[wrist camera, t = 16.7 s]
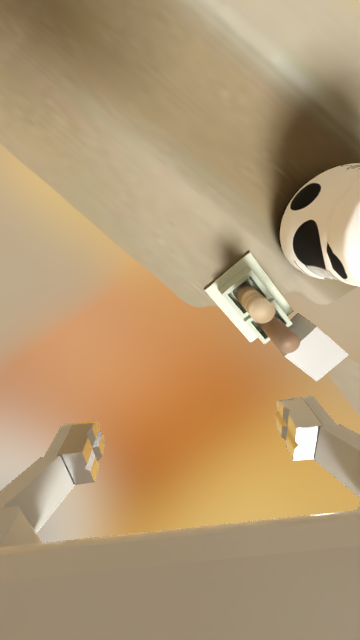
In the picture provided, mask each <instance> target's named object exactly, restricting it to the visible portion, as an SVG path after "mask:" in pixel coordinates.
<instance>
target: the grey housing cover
mask: <svg viewBox="0 0 360 640" xmlns="http://www.w3.org/2000/svg"><path fill="white" fill-rule="evenodd" d="M290 321H291V322H292V323H293V324H292V325H291V326H289V327H288V328H289V329H290V330H292V331H293V332H294V333H295V334H296V335H297V336H298V337H299V338H300V346H299V347H298V349H297V350H296V351H294V352H292V353H288V354H286V353H282V352H281V351H280V352H281V353H282V354H283V355H284V356H285V357H287V359H289V360H290V361H291V362H292V363H294V364H295V365H296V366H298V367H299V368H300V369H301V370H303V371H304V372H305V373H307V374H308V375H309V376H310V377H312V378H313V379H314V380H316V381H318V380H319V379H320V378H321V377H322V376H324V375H325V374H326V373H327V372H329V371H330V370H331V369H332V368H333V367H335V366H336V365H337V364H338V363H340V362H341V361H342V360H343V359H344V358H346V357H347V356H348V354H347V353H346V352H345V351H344V350H343V349H342V348H340V347H339V346H338V345H337V344H336V343H335V342H333V341H332V340H331V339H330V338H329V337H328V336H327V335H326V334H324V333H323V332H322V331H321V330H320V329H319V328H318V327H316V326H315V325H314V324H312V323H311V322H310V321H308V320H307V319H305V318H304V317H302V316H301V315H300V314H299V313H298V314H296V316H294V317H293V318H292V319H291V320H290ZM276 347H277V346H276Z"/></svg>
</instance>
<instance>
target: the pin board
mask: <svg viewBox="0 0 360 640" xmlns="http://www.w3.org/2000/svg"><path fill="white" fill-rule="evenodd" d="M243 282H247V283H248V284H249V285H250V286H252V287H253V288H254V289H255V290H256V291H258V292H259V293H260V294H261V295H262V296H264V297H265V298H266V299H267V300H268V301H269V302H271V303H272V304H273V305H274V307H275V315H274V317H273V318H272V320H270V321H269V322H267V323H263V324H261V323H257V322H255V321H254V320H253V318H252V317H251V316H250V315H249V313H248V312H247V311H246V310H245V308H244V307H243V306H242V305H241V304H240V302H239V301H238V300H237V299H236V297H235V296H234V295H233V290H234V289H235V288H237V287H238V286H239V285H240V284H242V283H243ZM205 291H206V292H207V294H208V295H209V296H210V297H211V298H212V299H213V300H214V302H215V303H216V304H217V305H218V306H219V307H220V308H221V309H222V311H223V312H224V313H225V314H226V315H227V316H228V317H229V319H230V320H231V321H232V322H233V323H234V324H235V325H236V327H238V329H239V330H240V331H241V332H242V333H243V335H244V336H245V337H246V338H247V339H248V340H249V341H250V342H252V341H254V340H255V339H256V338H259V339H260V340H261V341H262V342H263V343H264V344H265V343H267V342H268V341H270V340H271V341H272V342H273V343H274V344H275V345H276V346H277V348H278V349H279V350H280V351H281V352H282V353H286V354H288V353H292V352H294V351H296V350H297V349H298V347H299V346H300V338H299V337H298V336H297V335H296V334H295V333H294V332H293V331H292V330H290V329H289V328H288V327H289V326H291V325H292V324H293V323H292V322H291V321H290V320H289V318H288V317H287V316H288V315H289V314H290V313H292V312H293V310H292V308H291V307H290V306H289V304H288V303H287V302H286V300H285V299H284V298H283V296H282V295H281V293H280V292H279V291H278V289H277V288H276V287H275V285H274V284H273V283H272V281H271V280H270V279H269V277H268V276H267V275H266V273H265V272H264V271H263V269H262V268H261V267H260V265H259V264H258V262H257V261H256V260H255V258H254V257H253V256H252V254H251V253H250V252H249V253H247V254H246V255H245V256H244V257H243V258H242V259H240V260H239V261H238V262H237V263H236V264H234V265H233V266H232V267H231V268H230V269H229V270H227V271H226V272H225V273H224V274H223V275H221V276H220V277H219V278H218V279H217V280H216V281H214V282H213V283H212V284H211V285H210V286H208V287H207V288H206V289H205Z"/></svg>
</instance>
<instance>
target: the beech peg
mask: <svg viewBox="0 0 360 640" xmlns="http://www.w3.org/2000/svg"><path fill="white" fill-rule="evenodd" d="M233 295H234V296H235V297H236V299H237V300H238V301H239V302H240V304H241V305H242V306H243V307H244V308H245V310H246V311H247V312H248V313H249V315H250V316H251V317H252V318H253V320H254V321H255V322H257V323H261V324H263V323H267V322H269V321H270V320H272V318H273V317H274V315H275V307H274V305H273V304H272V303H271V302H269V301H268V300H267V299H266V298H265V297H264V296H262V295H261V294H260V293H259V292H258V291H256V290H255V289H254V288H253V287H252V286H250V285H249V284H248V283H247V282H243V283H242V284H240V285H239V286H238V287H237V288H235V289H234V290H233Z"/></svg>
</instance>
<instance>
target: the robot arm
mask: <svg viewBox="0 0 360 640" xmlns="http://www.w3.org/2000/svg"><path fill="white" fill-rule="evenodd" d="M276 407H277V409H278V413H277V414H276V425H277V428H278V431H279V433H280V435H281V437H282V438H284V439H285V440H286V447H287V449H288V451H289V453H290V455H291V457H292V459H293V460H294V461H295V460H308V459H314V460H315V461H316V462H317V463H318V464H320V465H321V466H322V467H323V468H324V469H326V470H327V471H328V472H329V473H330V474H332V475H333V476H334V477H335V478H336V479H338V480H339V481H340V482H341V483H342V484H344V485H345V486H346V487H347V488H349V489H350V490H351V491H352V492H353V493H355V494H356V495H357V496H358V497H359V498H360V435H359V434H357V433H356V432H354V431H352V430H350V429H348V428H346V427H344V426H342V425H337V424H336V423H335V422H334V421H333V419H332V418H331V417H330V416H329V415H328V413H327V412H326V411H325V410H324V409H323V407H322V406H321V405H320V404H319V403H318V401H317V400H316V399H315V398H314V397H313V396H307V397H300V398H291V399H283V400H278V401H277V404H276ZM99 428H100V425H99V423H98V421H87V422H77V423H76V422H75V423H66V424H63V425H62V426H61V427H60V429H59V431H58V433H57V434H56V436H55V438H54V440H53V442H52V443H51V445H50V447H49V449H48V451H47V452H46V454H45V456H44V457H40V458H39V459H38V460H37V461H36V462H34V463H33V464H32V465H31V466H30V467H29V468H27V469H26V470H25V471H24V472H22V473H21V474H20V475H19V476H18V477H17V478H15V479H14V480H13V481H12V482H11V483H10V484H8V485H7V486H6V487H5V488H3V489H2V490H1V491H0V640H360V503H359V507H358V510H354V511H345V512H335V513H325V514H316V515H307V516H297V517H287V518H277V519H269V520H258V521H248V522H239V523H229V524H219V525H211V526H201V527H191V528H181V529H172V530H162V531H153V532H143V533H133V534H124V535H114V536H105V537H95V538H85V539H75V540H66V541H56V542H47V543H42V542H41V540H40V538H39V537H38V535H37V534H36V533H37V532H38V531H39V530H40V528H41V527H42V526H43V525H44V523H45V522H46V521H47V520H48V518H49V517H50V516H51V515H52V513H53V512H54V511H55V510H56V509H57V507H58V506H59V505H60V503H61V502H62V501H63V500H64V499H65V497H66V496H67V495H68V494H69V492H70V491H71V490H72V489H73V487H74V485H77V484H84V483H91V482H95V479H96V475H97V472H98V469H99V464H98V462H97V461H98V460H99V459H100V458H101V457H102V455H103V452H104V444H105V443H104V437H103V434H102V433H101V432H99Z"/></svg>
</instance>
